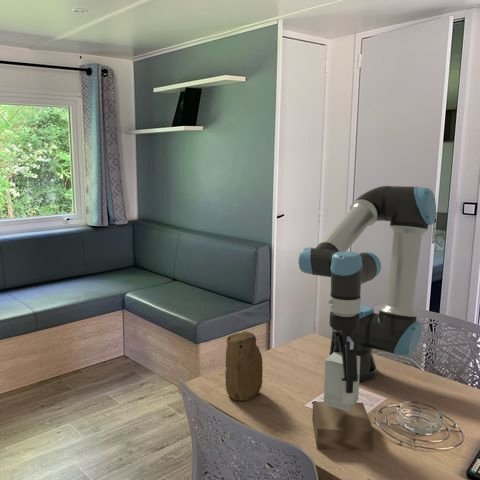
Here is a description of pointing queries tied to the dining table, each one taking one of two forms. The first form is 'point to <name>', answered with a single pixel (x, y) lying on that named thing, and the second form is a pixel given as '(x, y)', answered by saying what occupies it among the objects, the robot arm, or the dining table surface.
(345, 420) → the walnut block
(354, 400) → the supplement box
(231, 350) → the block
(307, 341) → the dining table surface
